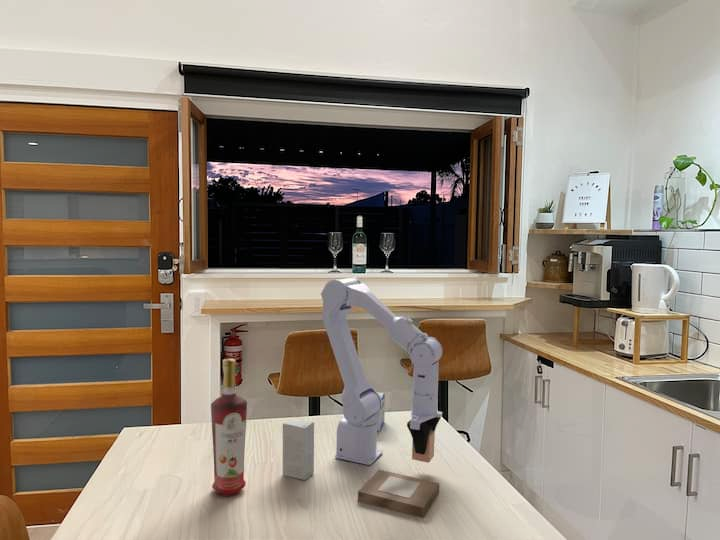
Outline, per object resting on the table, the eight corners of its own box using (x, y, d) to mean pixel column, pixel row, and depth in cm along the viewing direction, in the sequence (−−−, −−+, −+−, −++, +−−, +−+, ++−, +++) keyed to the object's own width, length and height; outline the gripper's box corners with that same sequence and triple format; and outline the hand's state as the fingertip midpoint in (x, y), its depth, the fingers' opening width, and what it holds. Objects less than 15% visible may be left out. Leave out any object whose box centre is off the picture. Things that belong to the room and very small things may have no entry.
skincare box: (314, 473, 119) (315, 421, 118) (304, 481, 115) (305, 428, 114) (291, 467, 121) (292, 417, 120) (281, 475, 117) (281, 423, 116)
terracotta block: (411, 459, 119) (412, 433, 119) (417, 452, 123) (418, 427, 122) (428, 462, 117) (429, 436, 117) (433, 456, 121) (434, 430, 121)
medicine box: (380, 431, 144) (380, 401, 143) (364, 430, 145) (364, 399, 144) (384, 421, 151) (385, 392, 151) (369, 420, 152) (370, 391, 152)
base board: (357, 500, 107) (357, 490, 107) (378, 477, 117) (378, 468, 117) (423, 517, 101) (423, 507, 101) (438, 492, 111) (439, 482, 111)
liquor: (215, 502, 105) (215, 366, 103) (207, 486, 111) (207, 357, 109) (250, 494, 108) (251, 362, 106) (241, 479, 115) (242, 354, 113)
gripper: (432, 403, 111) (430, 465, 112) (450, 385, 124) (448, 441, 125) (401, 398, 114) (399, 459, 115) (422, 381, 127) (420, 435, 128)
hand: (423, 449), depth 120 cm, fingers closed on terracotta block, 4 cm apart
